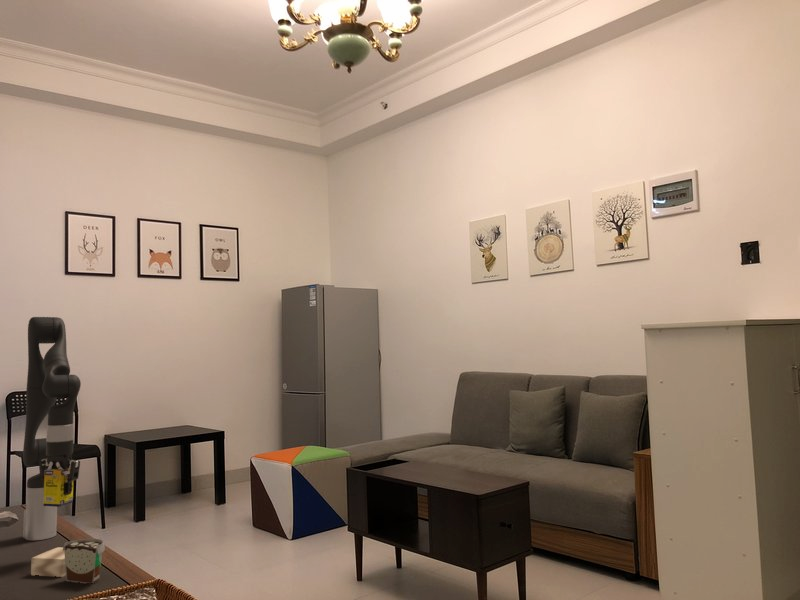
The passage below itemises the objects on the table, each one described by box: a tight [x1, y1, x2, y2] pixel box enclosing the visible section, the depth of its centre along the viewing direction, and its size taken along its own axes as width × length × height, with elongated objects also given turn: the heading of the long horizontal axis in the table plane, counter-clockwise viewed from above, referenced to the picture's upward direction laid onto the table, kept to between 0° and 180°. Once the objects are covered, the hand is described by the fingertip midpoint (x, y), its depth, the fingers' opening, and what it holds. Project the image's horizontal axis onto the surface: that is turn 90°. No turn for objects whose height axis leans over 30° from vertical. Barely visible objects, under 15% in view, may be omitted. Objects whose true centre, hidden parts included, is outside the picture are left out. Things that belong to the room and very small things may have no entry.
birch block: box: [30, 547, 66, 578], centre depth 181 cm, size 10×10×5 cm
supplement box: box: [43, 468, 74, 508], centre depth 196 cm, size 6×6×11 cm
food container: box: [62, 538, 106, 584], centre depth 174 cm, size 12×6×10 cm, turn 71°
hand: (58, 493), depth 196 cm, fingers closed on supplement box, 6 cm apart
